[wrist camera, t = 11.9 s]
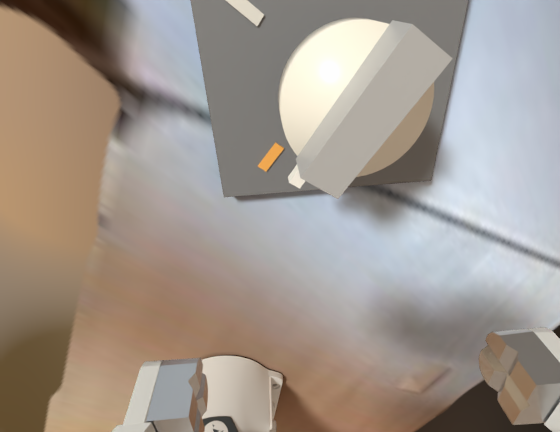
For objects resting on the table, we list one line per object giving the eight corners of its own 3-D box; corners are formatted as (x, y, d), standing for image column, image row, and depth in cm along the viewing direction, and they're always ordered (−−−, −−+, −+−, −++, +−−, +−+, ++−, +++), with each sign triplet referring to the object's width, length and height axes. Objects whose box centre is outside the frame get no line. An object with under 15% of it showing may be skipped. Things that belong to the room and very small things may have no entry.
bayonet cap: (422, 6, 22) (471, 10, 17) (409, 160, 28) (443, 197, 23) (268, 30, 22) (272, 41, 17) (287, 178, 28) (295, 218, 23)
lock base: (423, 172, 38) (459, 210, 31) (225, 188, 38) (218, 230, 31) (473, -90, 26) (548, -119, 19) (182, -72, 26) (157, -95, 19)
